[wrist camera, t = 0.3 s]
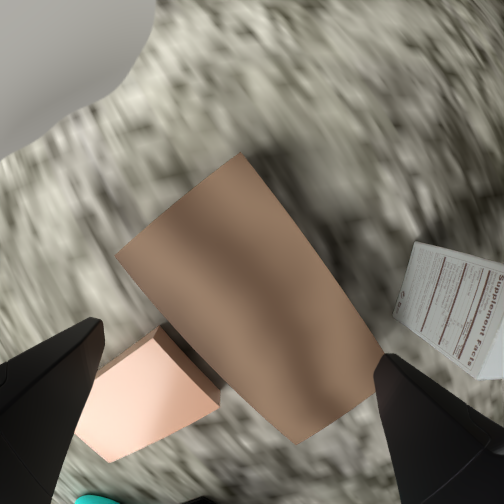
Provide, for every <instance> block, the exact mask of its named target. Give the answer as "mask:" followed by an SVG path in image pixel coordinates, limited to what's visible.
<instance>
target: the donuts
mask: <svg viewBox="0 0 504 504" xmlns="http://www.w3.org/2000/svg"><path fill="white" fill-rule="evenodd" d="M75 504H120V503H118V502H115V501H113V500H111V499H108V498H104V497H101V496H95V495H85V496H81V497H79V498H78V499H77V500H76V502H75Z"/></svg>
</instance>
